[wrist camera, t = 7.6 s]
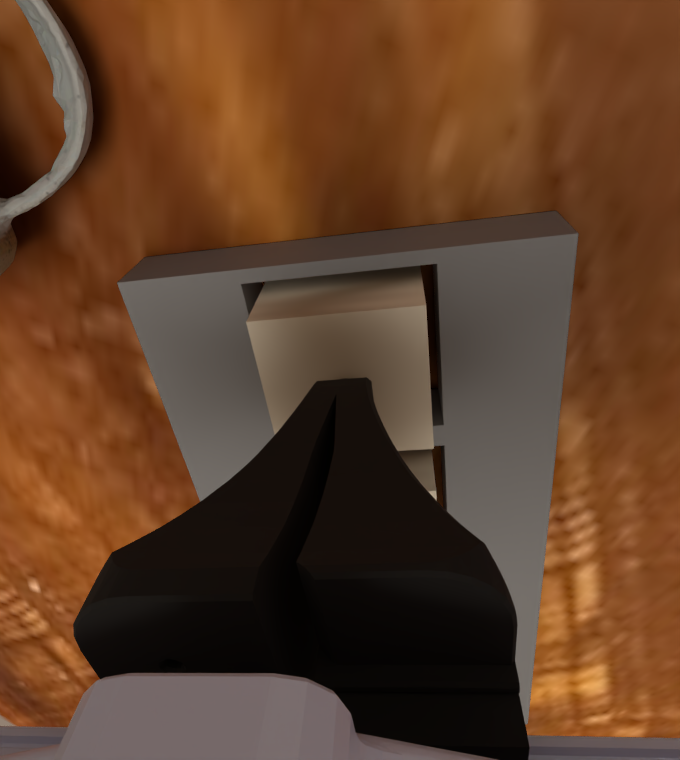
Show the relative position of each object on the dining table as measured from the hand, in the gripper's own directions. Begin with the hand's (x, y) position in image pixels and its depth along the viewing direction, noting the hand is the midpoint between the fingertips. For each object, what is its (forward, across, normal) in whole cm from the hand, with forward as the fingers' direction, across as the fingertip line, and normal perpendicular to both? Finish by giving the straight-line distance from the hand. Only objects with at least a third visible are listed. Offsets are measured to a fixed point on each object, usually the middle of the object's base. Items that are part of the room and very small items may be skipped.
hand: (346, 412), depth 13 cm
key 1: (+4, 0, 0) cm, 4 cm away
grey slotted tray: (+5, 0, +9) cm, 10 cm away
